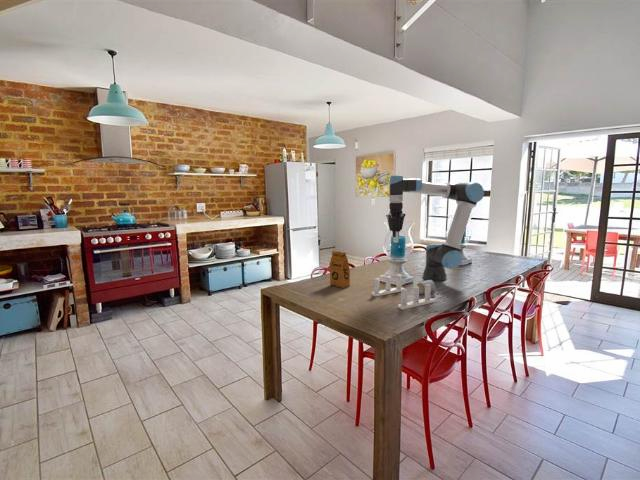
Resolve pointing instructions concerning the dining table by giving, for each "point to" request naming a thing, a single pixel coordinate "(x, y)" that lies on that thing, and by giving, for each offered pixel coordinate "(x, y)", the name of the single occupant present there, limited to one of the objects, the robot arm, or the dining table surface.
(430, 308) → the dining table surface
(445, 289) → the dining table surface
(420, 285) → the ceramic mug
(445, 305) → the dining table surface
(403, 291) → the rack
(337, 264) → the coffee package
